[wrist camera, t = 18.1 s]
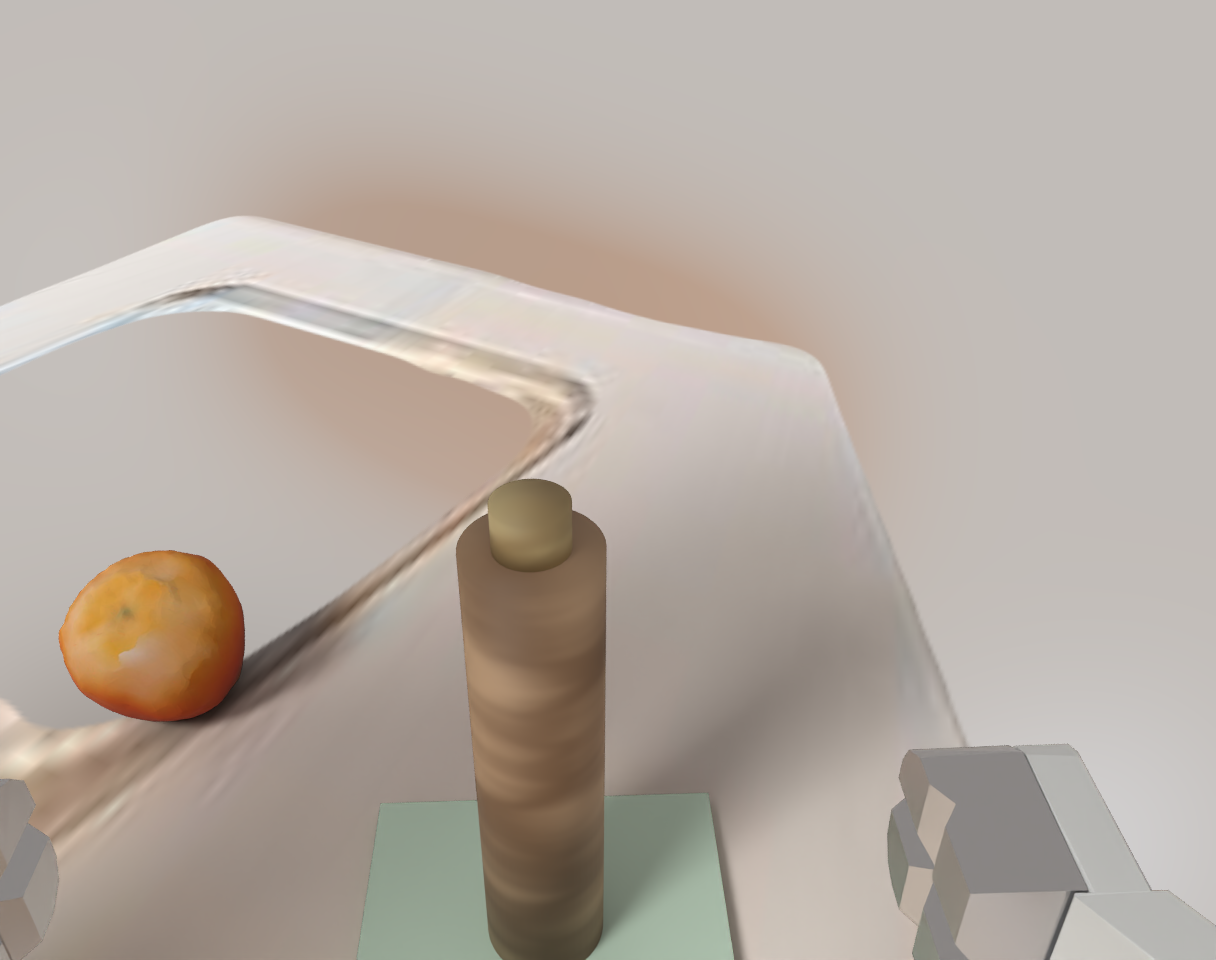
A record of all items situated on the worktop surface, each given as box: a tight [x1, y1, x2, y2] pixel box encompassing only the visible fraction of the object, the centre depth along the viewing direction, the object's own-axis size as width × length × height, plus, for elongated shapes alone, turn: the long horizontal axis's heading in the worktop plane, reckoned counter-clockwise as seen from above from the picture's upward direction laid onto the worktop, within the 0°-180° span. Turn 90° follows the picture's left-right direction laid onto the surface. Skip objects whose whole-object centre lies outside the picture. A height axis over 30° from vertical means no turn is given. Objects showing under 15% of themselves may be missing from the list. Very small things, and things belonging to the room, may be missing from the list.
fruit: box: [59, 550, 245, 721], centre depth 53 cm, size 8×8×8 cm
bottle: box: [456, 479, 606, 960], centre depth 37 cm, size 4×4×20 cm
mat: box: [356, 793, 734, 960], centre depth 43 cm, size 14×12×1 cm
